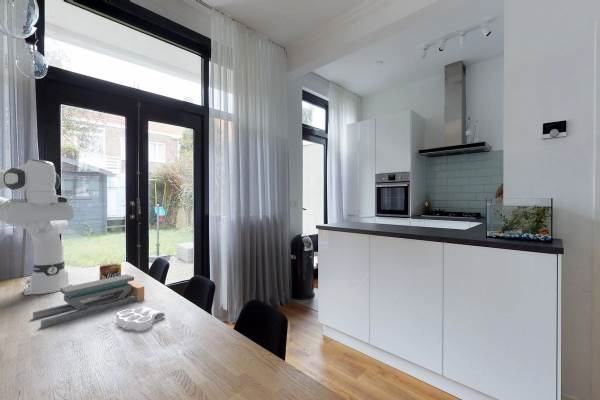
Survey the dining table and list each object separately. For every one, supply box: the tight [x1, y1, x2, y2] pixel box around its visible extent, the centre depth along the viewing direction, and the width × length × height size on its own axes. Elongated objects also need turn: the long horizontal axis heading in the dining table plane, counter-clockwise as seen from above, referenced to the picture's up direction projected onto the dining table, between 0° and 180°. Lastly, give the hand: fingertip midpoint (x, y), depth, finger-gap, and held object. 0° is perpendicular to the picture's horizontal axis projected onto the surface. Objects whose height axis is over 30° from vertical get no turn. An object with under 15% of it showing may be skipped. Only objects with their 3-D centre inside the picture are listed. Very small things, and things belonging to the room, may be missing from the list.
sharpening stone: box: [59, 274, 135, 310], centre depth 119 cm, size 25×8×11 cm, turn 144°
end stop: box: [125, 281, 145, 302], centre depth 131 cm, size 14×3×6 cm, turn 54°
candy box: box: [98, 262, 122, 280], centre depth 134 cm, size 9×4×15 cm, turn 123°
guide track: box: [32, 293, 139, 329], centre depth 117 cm, size 14×33×2 cm, turn 144°
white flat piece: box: [114, 306, 166, 332], centre depth 105 cm, size 3×18×15 cm
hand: (41, 232), depth 111 cm, fingers closed
